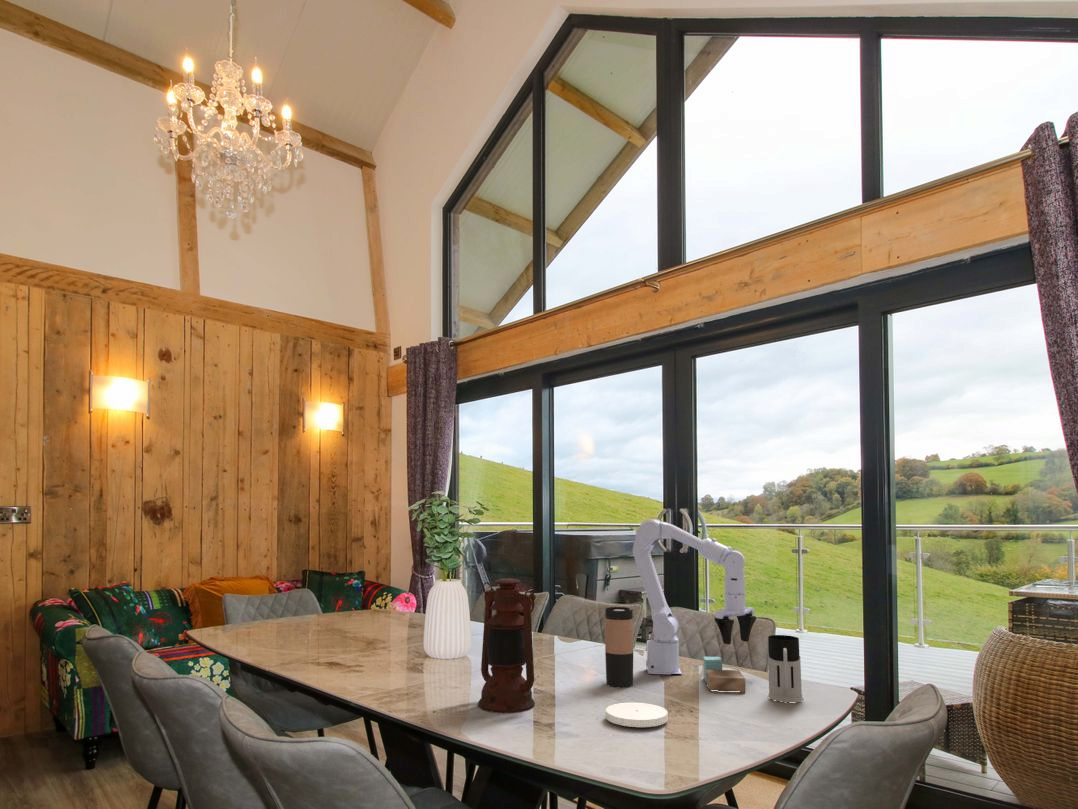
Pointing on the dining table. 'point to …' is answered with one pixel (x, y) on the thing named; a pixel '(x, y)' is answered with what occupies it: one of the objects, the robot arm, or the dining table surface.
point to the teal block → (711, 664)
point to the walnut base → (725, 680)
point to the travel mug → (619, 646)
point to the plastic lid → (636, 714)
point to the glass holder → (784, 668)
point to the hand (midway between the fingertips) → (735, 642)
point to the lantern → (507, 649)
